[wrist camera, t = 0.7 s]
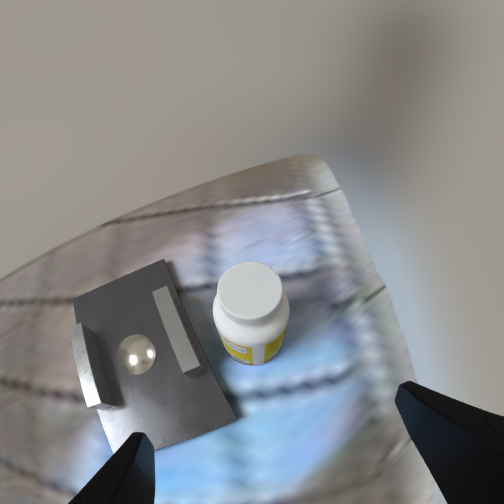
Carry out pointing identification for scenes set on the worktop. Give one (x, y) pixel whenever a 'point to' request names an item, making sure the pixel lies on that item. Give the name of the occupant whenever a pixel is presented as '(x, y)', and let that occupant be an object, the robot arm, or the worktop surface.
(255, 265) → the supplement bottle
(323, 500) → the worktop surface
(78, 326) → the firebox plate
